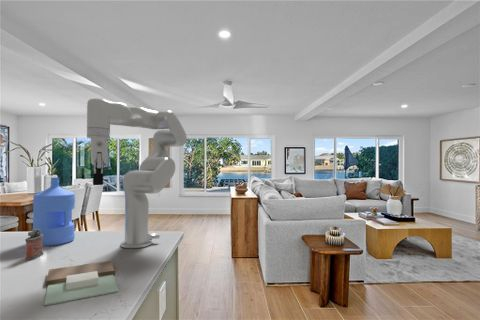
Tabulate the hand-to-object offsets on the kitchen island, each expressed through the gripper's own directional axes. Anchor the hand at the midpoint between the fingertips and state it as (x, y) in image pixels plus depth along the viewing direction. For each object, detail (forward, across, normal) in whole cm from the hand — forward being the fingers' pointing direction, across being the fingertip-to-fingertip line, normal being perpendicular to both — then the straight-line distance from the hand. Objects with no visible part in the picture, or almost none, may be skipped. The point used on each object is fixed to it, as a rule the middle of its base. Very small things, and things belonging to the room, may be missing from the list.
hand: (98, 184), depth 106 cm
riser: (+27, -13, +5) cm, 30 cm away
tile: (+26, -21, +5) cm, 34 cm away
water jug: (+27, +35, +15) cm, 47 cm away
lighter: (+27, +14, +20) cm, 37 cm away
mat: (+27, -25, +5) cm, 37 cm away
